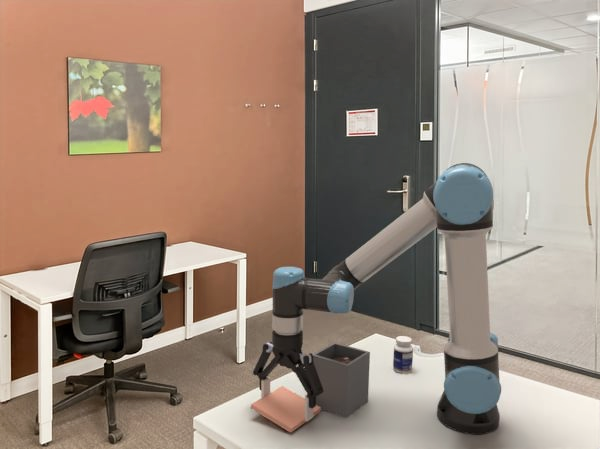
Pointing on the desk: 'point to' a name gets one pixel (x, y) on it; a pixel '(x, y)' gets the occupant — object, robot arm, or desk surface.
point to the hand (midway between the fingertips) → (286, 410)
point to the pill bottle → (403, 355)
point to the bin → (342, 379)
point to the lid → (283, 408)
